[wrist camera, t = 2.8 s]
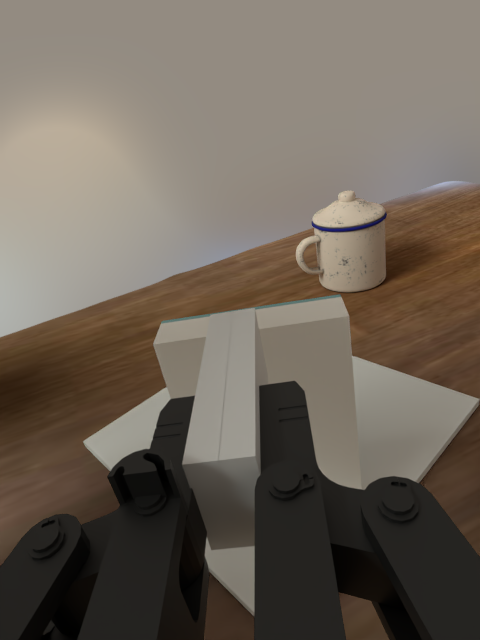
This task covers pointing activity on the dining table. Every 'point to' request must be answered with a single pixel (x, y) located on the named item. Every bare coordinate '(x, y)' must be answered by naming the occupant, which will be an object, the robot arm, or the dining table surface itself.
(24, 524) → the dining table surface
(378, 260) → the teacup with lid
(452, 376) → the dining table surface
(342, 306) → the tile
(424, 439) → the mat
